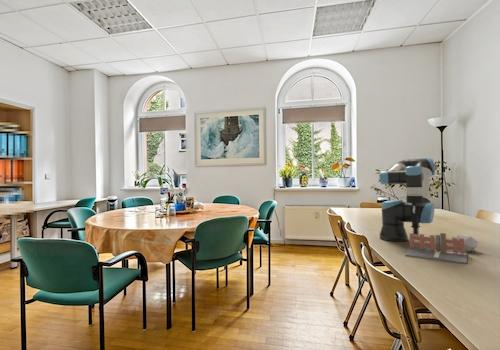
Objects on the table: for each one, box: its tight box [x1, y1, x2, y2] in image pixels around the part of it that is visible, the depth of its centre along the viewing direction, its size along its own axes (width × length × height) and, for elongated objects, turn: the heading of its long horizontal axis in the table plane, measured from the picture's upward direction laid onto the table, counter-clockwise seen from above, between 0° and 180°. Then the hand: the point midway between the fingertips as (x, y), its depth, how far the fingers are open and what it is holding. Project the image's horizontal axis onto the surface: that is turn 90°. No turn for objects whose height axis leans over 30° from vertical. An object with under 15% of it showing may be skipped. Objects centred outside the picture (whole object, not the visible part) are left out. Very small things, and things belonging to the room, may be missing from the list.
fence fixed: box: [439, 232, 465, 254], centre depth 130 cm, size 9×2×9 cm, turn 51°
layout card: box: [404, 246, 468, 265], centre depth 131 cm, size 20×23×1 cm
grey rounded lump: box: [456, 234, 479, 253], centre depth 135 cm, size 8×9×10 cm
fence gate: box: [408, 232, 441, 251], centre depth 137 cm, size 13×2×7 cm, turn 51°
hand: (416, 239), depth 144 cm, fingers closed
